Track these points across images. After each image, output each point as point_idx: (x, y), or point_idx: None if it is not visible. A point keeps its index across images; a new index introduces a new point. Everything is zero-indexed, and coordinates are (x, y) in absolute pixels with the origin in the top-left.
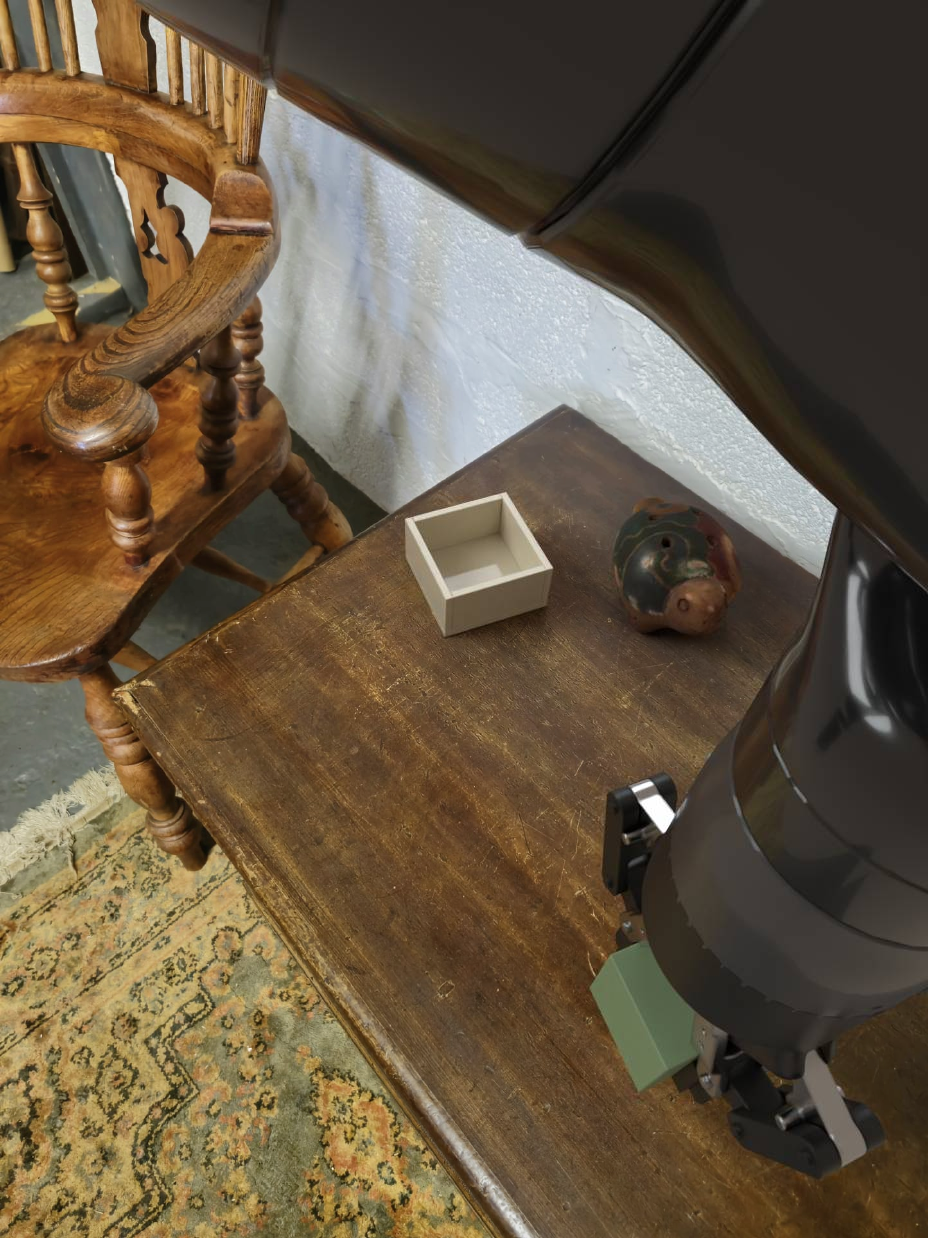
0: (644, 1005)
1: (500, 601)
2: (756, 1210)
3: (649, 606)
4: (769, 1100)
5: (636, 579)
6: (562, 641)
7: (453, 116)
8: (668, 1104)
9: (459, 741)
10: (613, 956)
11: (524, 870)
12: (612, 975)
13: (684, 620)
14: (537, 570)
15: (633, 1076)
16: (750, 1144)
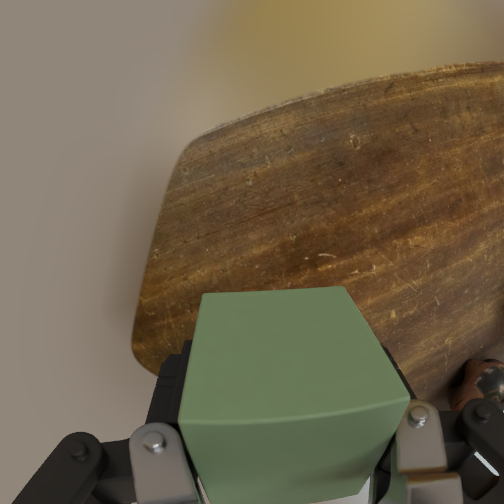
0: (304, 429)
1: None
2: (149, 290)
3: (483, 379)
4: (109, 496)
5: (498, 378)
6: (490, 317)
7: None
8: (220, 267)
9: (484, 231)
10: (406, 402)
11: (404, 236)
12: (372, 374)
13: (469, 398)
14: None
15: (220, 298)
16: (53, 463)
